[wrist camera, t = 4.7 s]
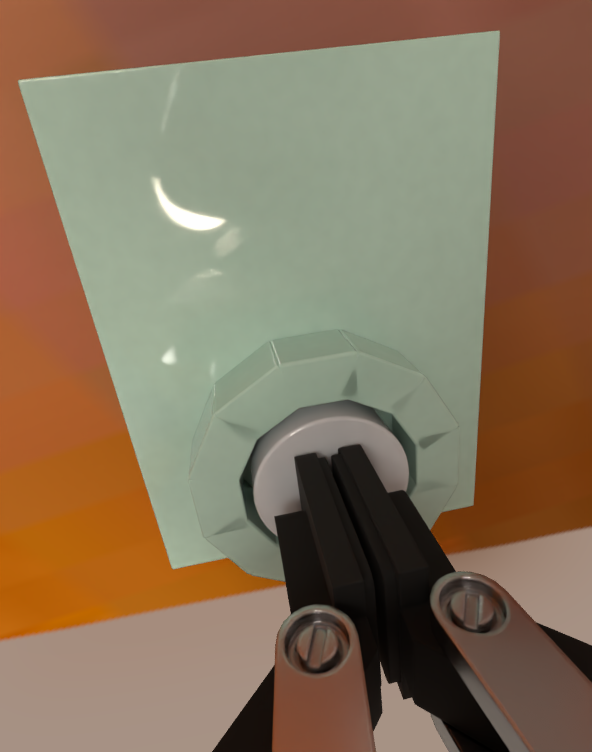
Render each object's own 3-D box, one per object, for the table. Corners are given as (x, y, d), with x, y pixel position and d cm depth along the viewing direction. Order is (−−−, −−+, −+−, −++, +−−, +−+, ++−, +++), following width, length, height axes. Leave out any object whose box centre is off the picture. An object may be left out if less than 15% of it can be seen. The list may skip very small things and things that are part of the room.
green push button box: (67, 106, 12) (-33, 54, 7) (435, 65, 12) (559, -4, 8) (179, 503, 17) (165, 621, 12) (432, 453, 18) (505, 545, 13)
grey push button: (237, 401, 12) (240, 434, 10) (384, 374, 12) (409, 403, 11) (260, 519, 13) (265, 564, 12) (388, 493, 14) (411, 533, 12)
